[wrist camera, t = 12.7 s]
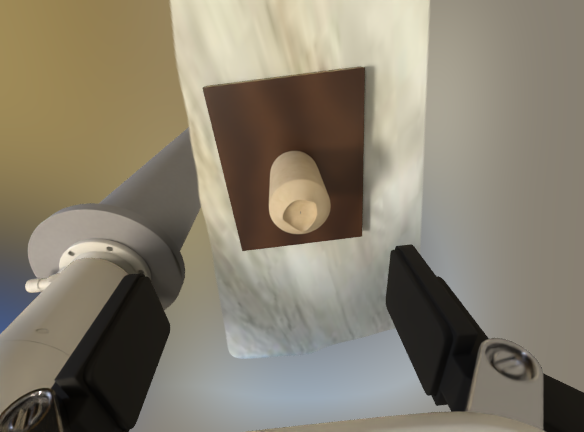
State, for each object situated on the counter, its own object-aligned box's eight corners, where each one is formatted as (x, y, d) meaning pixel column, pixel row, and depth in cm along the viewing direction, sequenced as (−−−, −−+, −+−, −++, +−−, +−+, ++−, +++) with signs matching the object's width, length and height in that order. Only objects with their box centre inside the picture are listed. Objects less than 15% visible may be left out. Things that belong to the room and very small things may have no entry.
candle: (318, 193, 34) (333, 240, 25) (272, 196, 34) (271, 245, 25) (317, 148, 31) (334, 184, 23) (267, 151, 31) (265, 188, 22)
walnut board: (243, 243, 39) (242, 251, 38) (206, 85, 29) (202, 87, 28) (358, 229, 39) (362, 236, 38) (360, 66, 29) (365, 67, 28)
